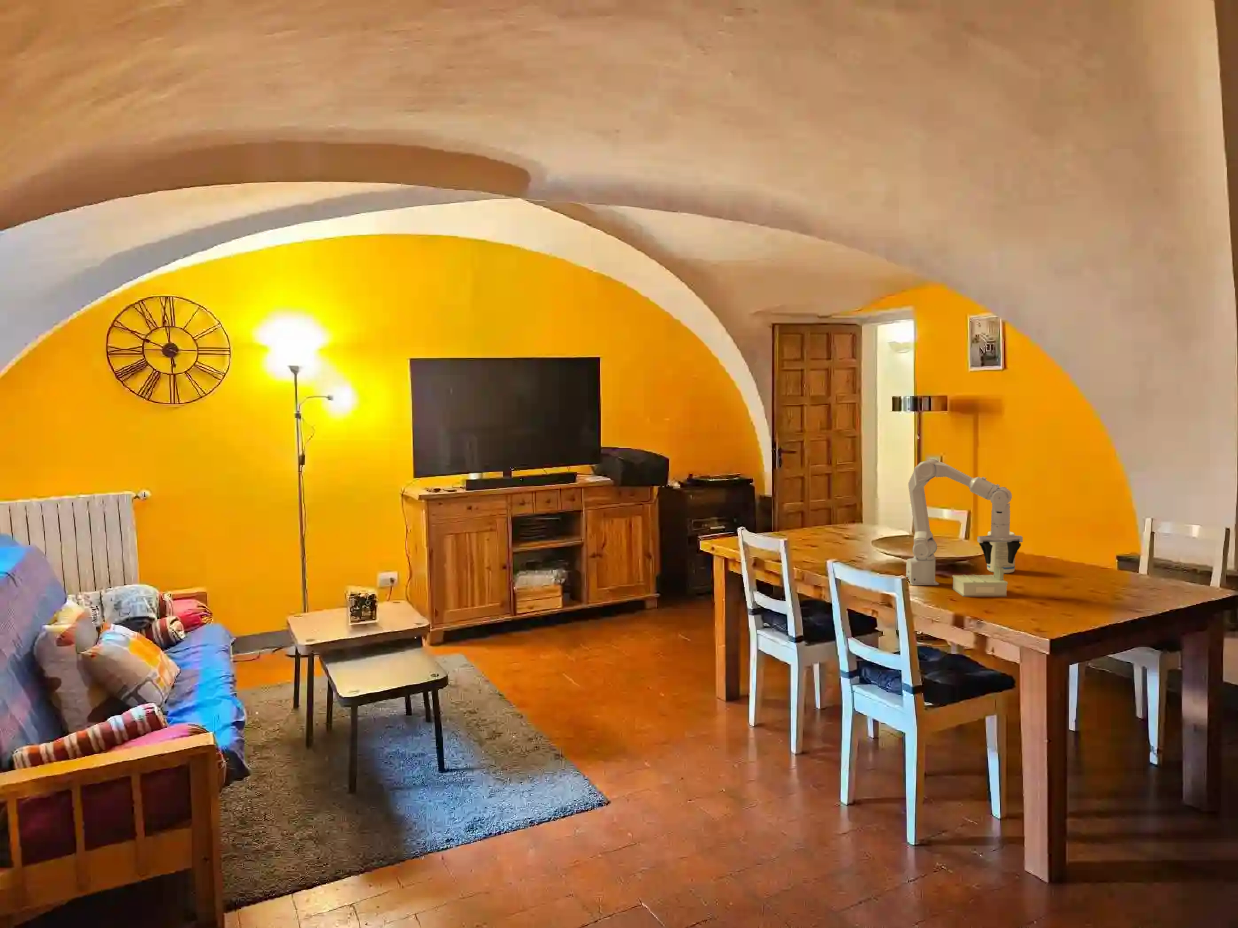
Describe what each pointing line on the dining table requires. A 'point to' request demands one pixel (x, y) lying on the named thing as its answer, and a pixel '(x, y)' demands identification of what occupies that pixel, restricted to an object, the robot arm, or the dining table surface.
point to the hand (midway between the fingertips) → (999, 563)
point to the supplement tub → (1000, 556)
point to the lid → (983, 578)
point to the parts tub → (979, 589)
